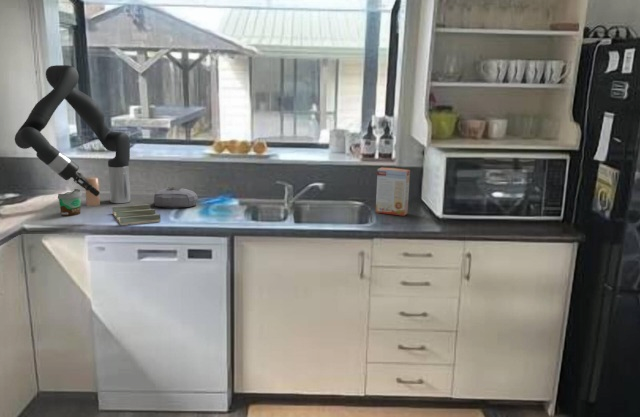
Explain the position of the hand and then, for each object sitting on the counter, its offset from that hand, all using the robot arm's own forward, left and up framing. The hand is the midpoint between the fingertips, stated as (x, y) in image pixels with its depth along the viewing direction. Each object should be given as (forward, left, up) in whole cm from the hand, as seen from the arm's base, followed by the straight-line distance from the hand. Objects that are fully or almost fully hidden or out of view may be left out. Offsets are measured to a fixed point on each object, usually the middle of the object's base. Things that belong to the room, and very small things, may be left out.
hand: (97, 193), depth 234 cm
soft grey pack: (-18, +37, -12) cm, 43 cm away
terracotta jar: (0, -2, -5) cm, 5 cm away
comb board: (-1, +15, -12) cm, 19 cm away
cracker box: (+34, +124, -12) cm, 129 cm away
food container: (-17, -8, -12) cm, 22 cm away
